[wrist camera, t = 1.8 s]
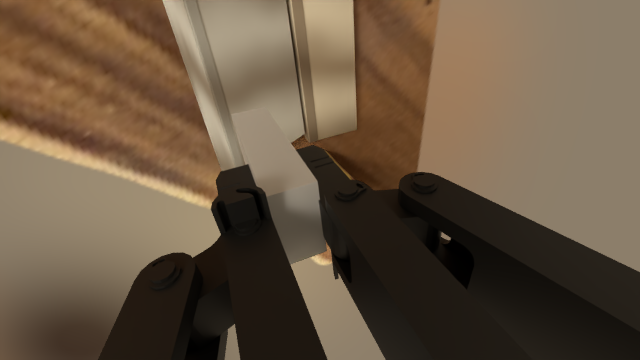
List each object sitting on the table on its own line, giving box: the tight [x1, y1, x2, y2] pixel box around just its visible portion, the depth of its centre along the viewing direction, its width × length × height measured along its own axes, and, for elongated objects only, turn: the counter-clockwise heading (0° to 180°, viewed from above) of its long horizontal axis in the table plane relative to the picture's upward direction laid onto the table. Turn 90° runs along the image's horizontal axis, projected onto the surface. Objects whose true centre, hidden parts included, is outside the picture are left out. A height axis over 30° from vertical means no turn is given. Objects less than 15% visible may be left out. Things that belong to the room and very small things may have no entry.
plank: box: [163, 0, 305, 171], centre depth 22 cm, size 13×8×2 cm
